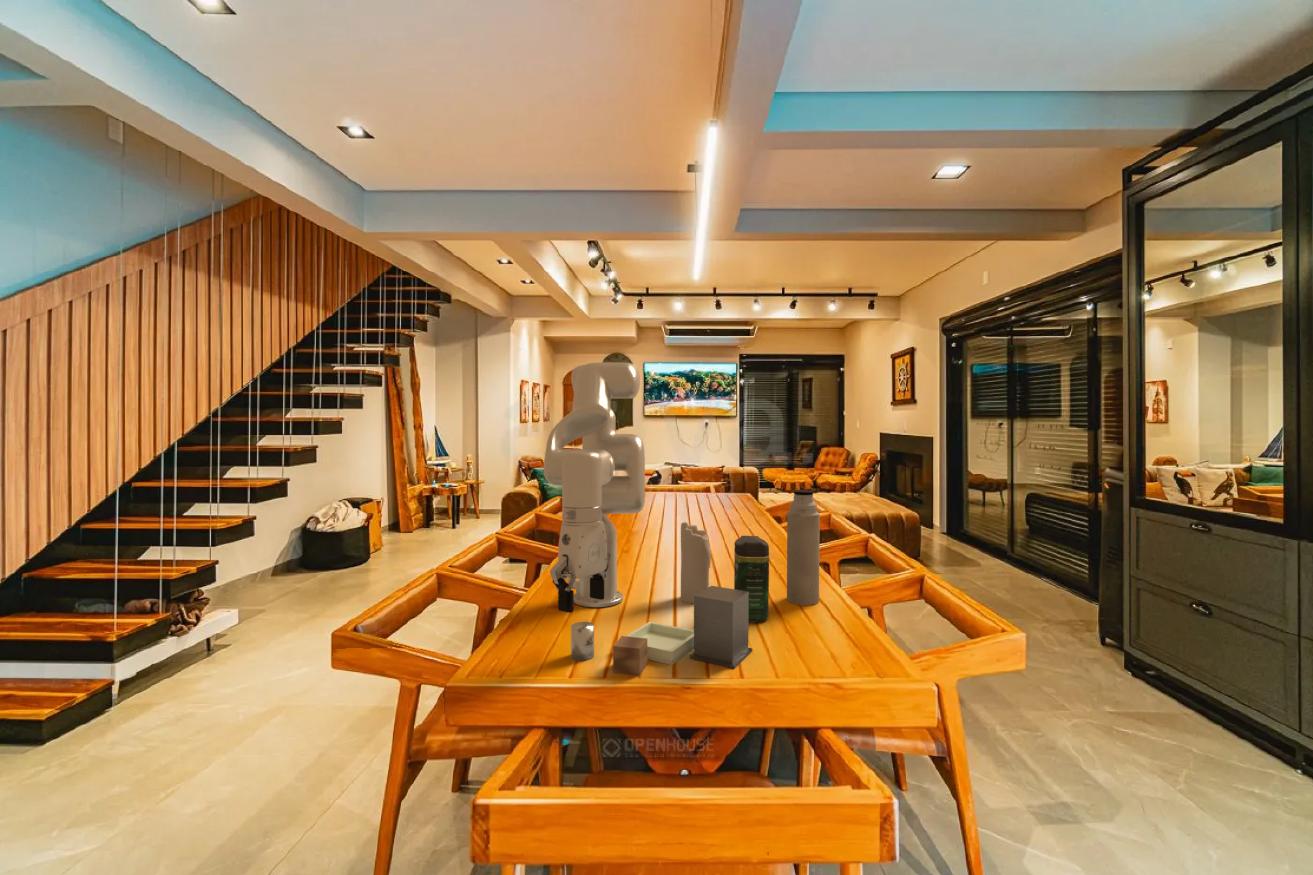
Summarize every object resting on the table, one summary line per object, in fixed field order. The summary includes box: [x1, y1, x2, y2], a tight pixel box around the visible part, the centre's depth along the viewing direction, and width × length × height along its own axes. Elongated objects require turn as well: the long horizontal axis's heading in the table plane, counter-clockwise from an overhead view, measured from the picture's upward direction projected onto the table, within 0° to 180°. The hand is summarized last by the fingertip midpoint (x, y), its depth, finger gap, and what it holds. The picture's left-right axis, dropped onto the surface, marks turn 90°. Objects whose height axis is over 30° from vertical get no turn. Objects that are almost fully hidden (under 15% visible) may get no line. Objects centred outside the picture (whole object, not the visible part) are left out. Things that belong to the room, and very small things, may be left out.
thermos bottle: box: [786, 489, 821, 606], centre depth 146 cm, size 8×8×28 cm
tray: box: [625, 621, 694, 666], centre depth 116 cm, size 12×12×2 cm
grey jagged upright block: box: [680, 521, 712, 604], centre depth 146 cm, size 7×14×20 cm, turn 73°
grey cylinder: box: [570, 621, 595, 662], centre depth 112 cm, size 4×4×6 cm
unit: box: [689, 585, 753, 670], centre depth 112 cm, size 9×9×12 cm
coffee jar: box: [733, 535, 770, 623], centre depth 134 cm, size 10×8×19 cm
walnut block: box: [612, 635, 648, 677], centre depth 106 cm, size 5×5×5 cm
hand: (582, 604), depth 111 cm, fingers open, 9 cm apart
